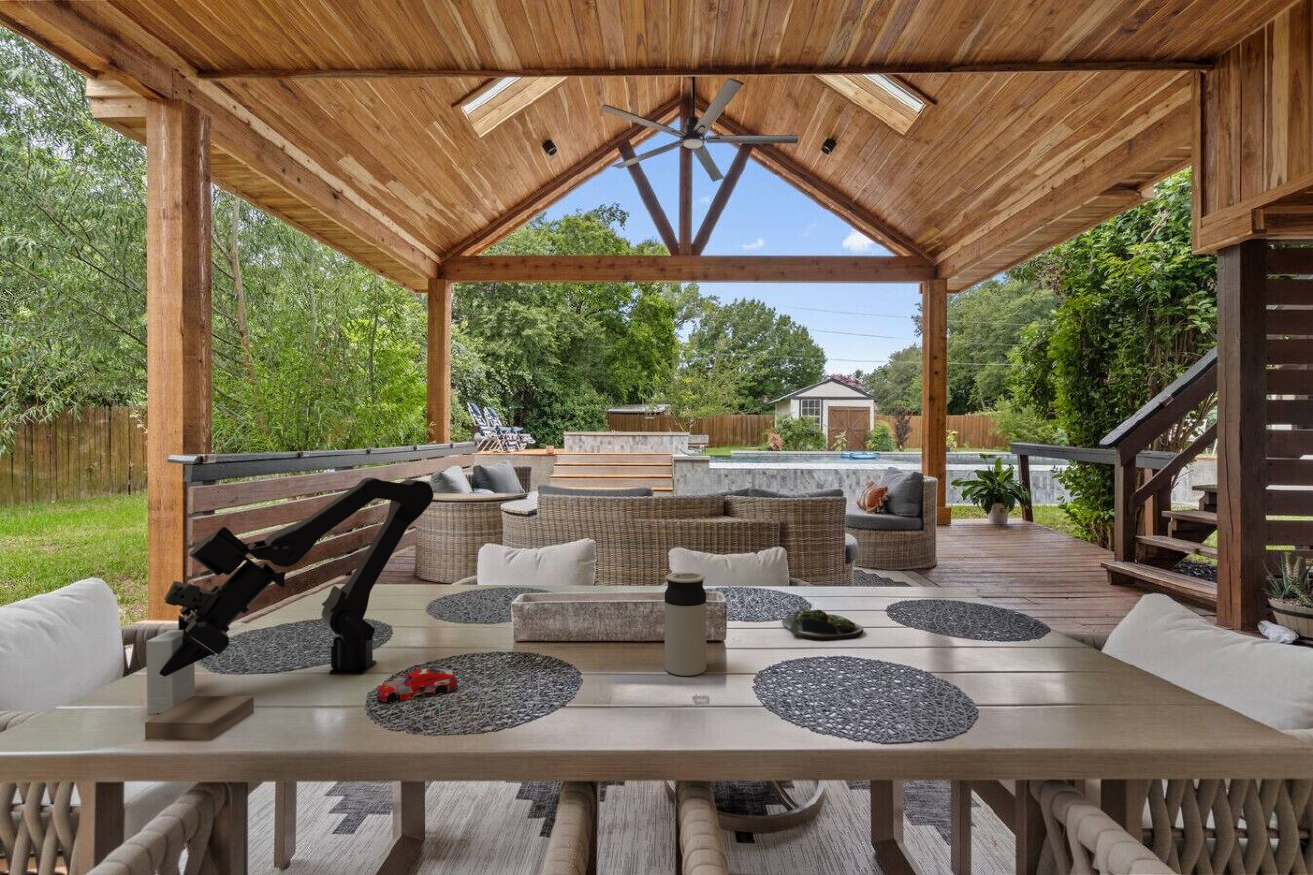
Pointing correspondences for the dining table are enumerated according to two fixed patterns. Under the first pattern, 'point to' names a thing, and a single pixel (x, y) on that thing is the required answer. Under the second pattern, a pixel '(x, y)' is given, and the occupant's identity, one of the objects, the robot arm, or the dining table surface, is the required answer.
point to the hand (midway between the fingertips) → (160, 668)
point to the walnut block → (199, 718)
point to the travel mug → (685, 624)
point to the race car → (418, 685)
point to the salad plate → (821, 626)
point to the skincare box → (170, 687)
